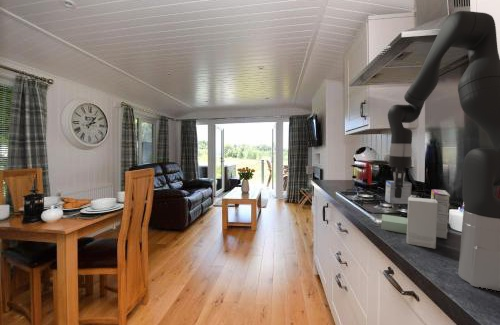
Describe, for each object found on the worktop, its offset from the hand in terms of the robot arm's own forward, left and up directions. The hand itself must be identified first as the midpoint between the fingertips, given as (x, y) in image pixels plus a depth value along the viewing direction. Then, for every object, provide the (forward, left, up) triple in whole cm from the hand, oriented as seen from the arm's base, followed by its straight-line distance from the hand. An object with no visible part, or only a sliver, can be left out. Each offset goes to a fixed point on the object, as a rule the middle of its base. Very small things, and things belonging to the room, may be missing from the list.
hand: (397, 196), depth 97 cm
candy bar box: (+2, -14, -13) cm, 19 cm away
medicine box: (0, 0, -3) cm, 3 cm away
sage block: (0, 0, -14) cm, 14 cm away
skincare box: (-14, -7, -13) cm, 21 cm away
